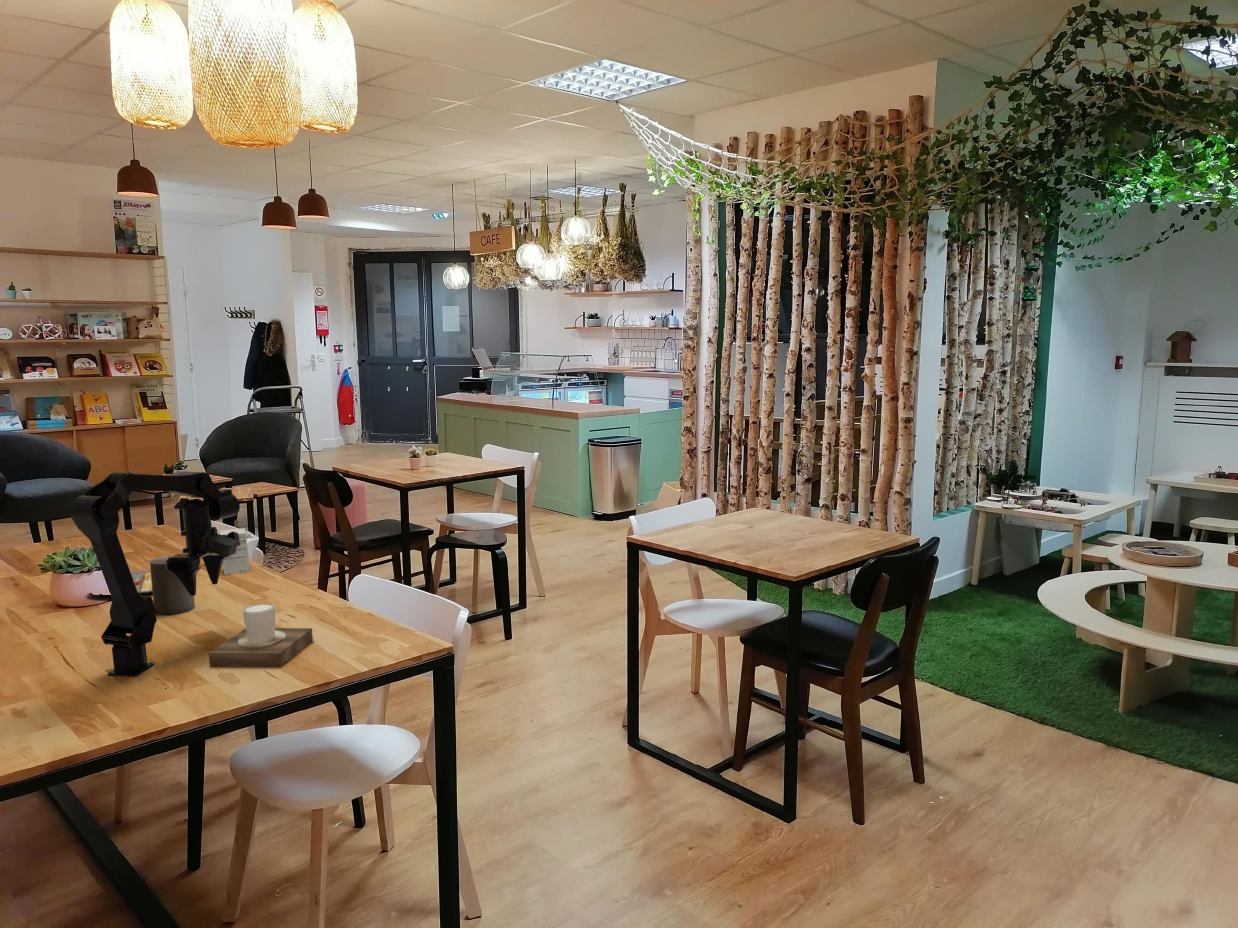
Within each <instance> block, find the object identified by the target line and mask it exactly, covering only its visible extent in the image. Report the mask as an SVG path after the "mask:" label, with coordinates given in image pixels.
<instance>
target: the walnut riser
mask: <svg viewBox="0 0 1238 928" xmlns="http://www.w3.org/2000/svg"><path fill="white" fill-rule="evenodd" d="M313 637H314V636H313V628H311V627H308V628H307V627H304V628H300V627H275V637H274V638H273V639H271V640H268V641H264V642H250V641H248V637H247V632H246V627H245V628H243V629H242V630H241V631H239V632H238V633H236V634H235V635H234V636H232V637H231V638H228V639H227V640H226V641H224V642H223V643H222V644H220V645H218V646H217V647H215V648H214V649H213V650H211V651H209V652H208V659H209V661H208V662H209V666H210V667H282V666H283V665H285V664H286V663H287V662H288V661H290V660H291V659H292V658H293V657H295V654H296V653H297V652H298V653H299V652H301V651H302V650H303V649H304V648H306V647H307V646H308V645H309V644H310V643H312V642H313V641H314V638H313ZM311 641H312V642H311ZM305 646H306V647H305ZM301 649H302V650H301ZM300 650H301V651H300ZM298 653H297V654H298ZM297 654H296V655H297ZM292 656H293V657H292ZM291 657H292V658H291ZM290 658H291V659H290ZM289 659H290V660H289ZM286 661H287V662H286ZM285 662H286V663H285ZM284 663H285V664H284ZM282 664H283V665H282ZM281 665H282V666H281Z"/></svg>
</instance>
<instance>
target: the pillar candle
mask: <svg viewBox="0 0 1238 928" xmlns="http://www.w3.org/2000/svg"><path fill="white" fill-rule="evenodd" d="M172 556H173V555H170V554H168V555H167V556H161V557H157V558H153V559H151V560H150V562H149V566H150V570H151V581H152V592H151V593H152V599H153V603H154V607H155V609H156V610H157V611H158V613H155V614H156V615H161V616H171V615H177V614H181V613H182V614H183V613H187V612H189V611H192V610H193V609H195V606H196V603H195V596H191V595H190V594H189V593H188V591H187V590H186V588H185V587H184V585H183V584H182V583H181V581H180V580H179V579H178V578H177V576H176V575H175V574H174V573H173V572H170V570H166V561H167V559H168V558H169V557H172Z"/></svg>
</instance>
